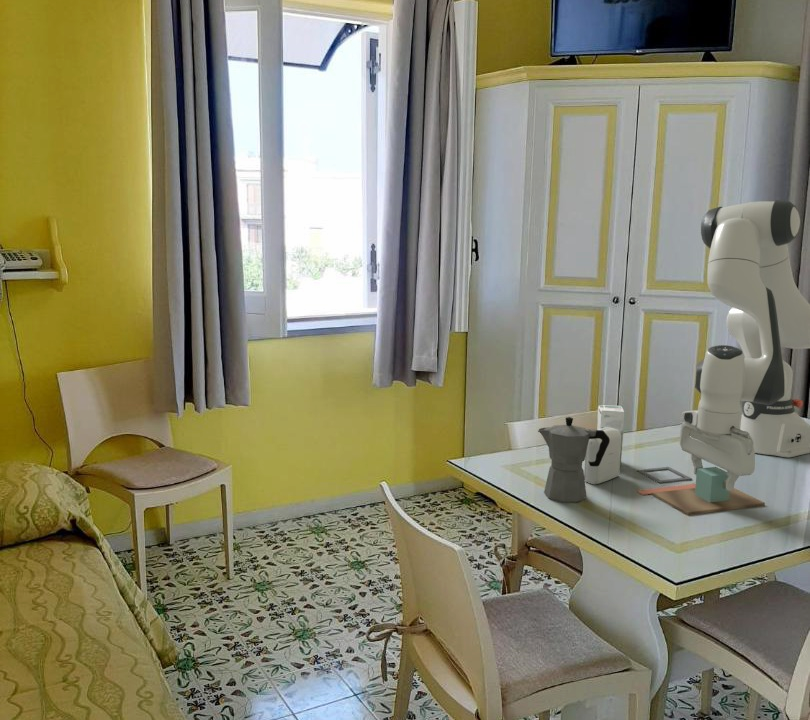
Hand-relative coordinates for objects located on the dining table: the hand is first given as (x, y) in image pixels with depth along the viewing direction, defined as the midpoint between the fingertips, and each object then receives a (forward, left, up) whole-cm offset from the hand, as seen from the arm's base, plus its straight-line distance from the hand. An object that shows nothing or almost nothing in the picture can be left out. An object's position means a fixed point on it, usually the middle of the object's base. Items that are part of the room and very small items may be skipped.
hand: (713, 482), depth 175 cm
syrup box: (+8, -29, -4) cm, 30 cm away
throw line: (+1, -8, -4) cm, 9 cm away
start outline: (0, -17, -4) cm, 17 cm away
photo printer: (+16, -19, -4) cm, 25 cm away
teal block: (0, 0, -4) cm, 4 cm away
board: (+1, 0, -4) cm, 4 cm away
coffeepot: (+29, -11, -4) cm, 31 cm away
